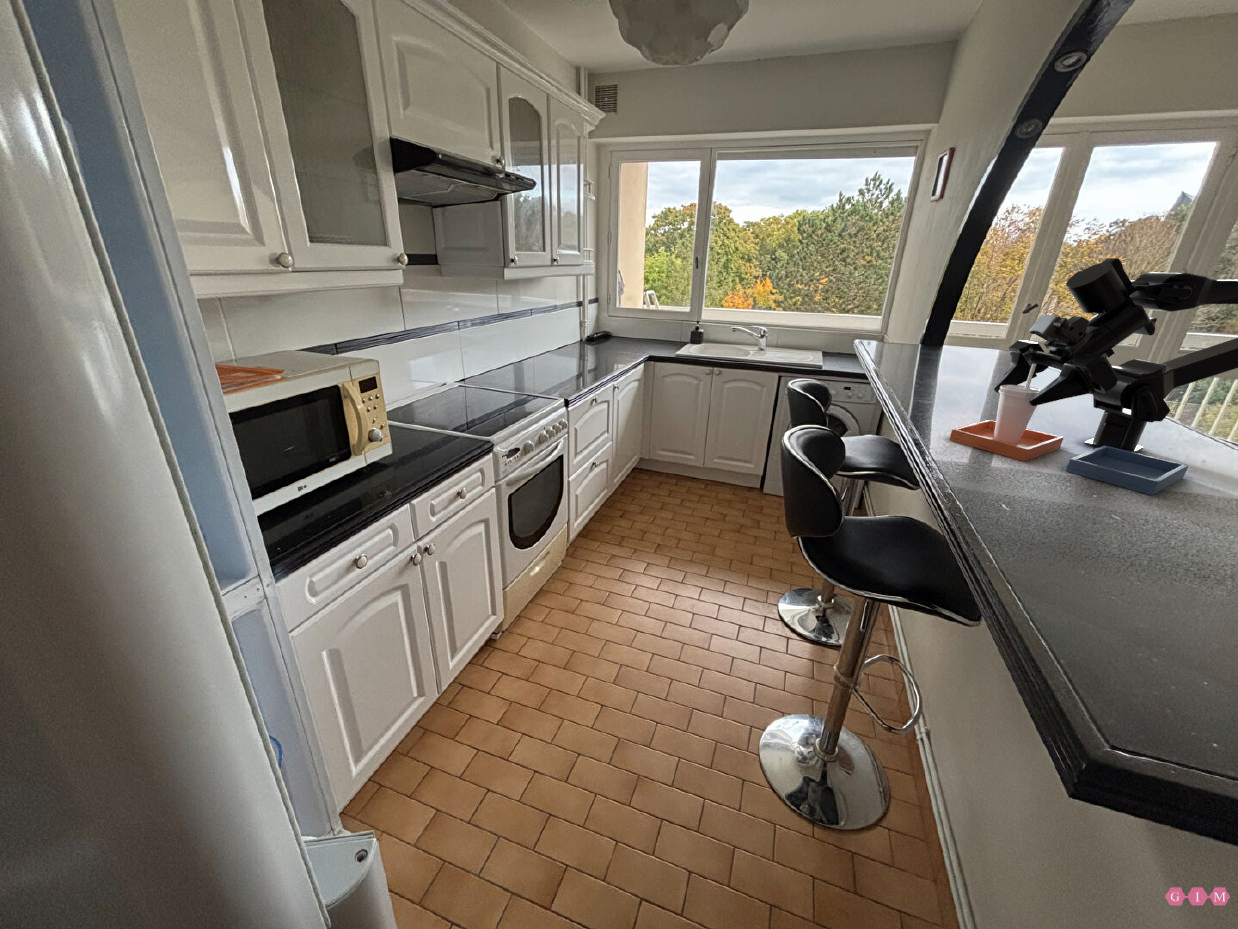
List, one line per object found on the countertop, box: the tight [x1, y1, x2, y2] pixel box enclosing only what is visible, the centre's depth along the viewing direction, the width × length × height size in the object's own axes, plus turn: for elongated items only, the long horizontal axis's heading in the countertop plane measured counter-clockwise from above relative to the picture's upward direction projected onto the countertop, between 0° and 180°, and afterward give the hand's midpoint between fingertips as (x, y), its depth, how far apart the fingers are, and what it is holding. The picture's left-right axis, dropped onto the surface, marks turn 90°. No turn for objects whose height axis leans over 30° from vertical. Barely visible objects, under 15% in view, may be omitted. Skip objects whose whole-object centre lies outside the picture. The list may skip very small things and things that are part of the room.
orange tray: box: [948, 419, 1065, 462], centre depth 91 cm, size 13×12×2 cm
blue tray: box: [1065, 446, 1190, 496], centre depth 79 cm, size 13×10×2 cm
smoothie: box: [993, 364, 1042, 445], centre depth 89 cm, size 6×6×14 cm
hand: (1012, 397), depth 89 cm, fingers open, 9 cm apart
